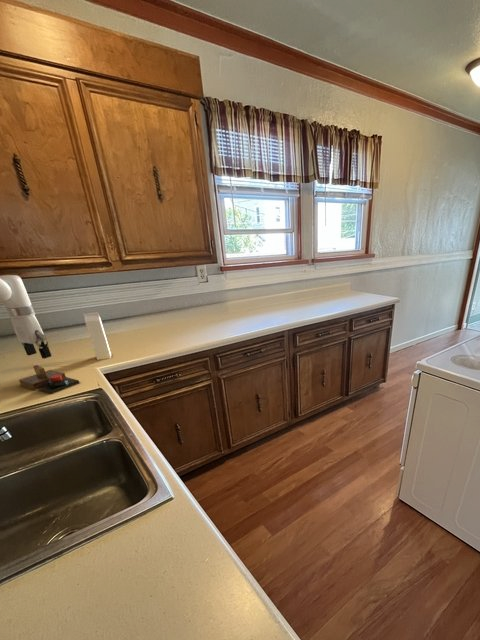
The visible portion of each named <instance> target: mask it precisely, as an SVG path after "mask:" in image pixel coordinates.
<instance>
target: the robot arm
mask: <svg viewBox="0 0 480 640" xmlns="http://www.w3.org/2000/svg"><path fill="white" fill-rule="evenodd" d="M0 303H3V305H4V307H5V309H6V312H7V314H8V317H9V318H10V321H11V322H10V323H11V326H12V328H13V331H14V333H15V336H16V338H17V340H18V342H21V345H22V346H23V348H24V351H25V353H26V355H27V356H33V355H36V354H37V353H38V352H37V350H36V347H35V345H36V346H37V347H38V351H39V354H40V356H41V358H42V360H45V359H48V358H51V357H52V352H51V350H50V347H49V342H48V338H47V336H46V335H45V333H44V331H43V329H42V326H41V325H40V323H39V321H38V319H37V316H36V311H35V309H34V307H33V304H32V302H31V299H30V297H29V294H28V291H27V289H26V287H25V285H24V282H23V279H22V277H20V276H19V275H15V274H5V275H0ZM34 344H35V345H34Z"/></svg>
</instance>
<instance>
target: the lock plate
mask: <svg viewBox="0 0 480 640" xmlns="http://www.w3.org/2000/svg"><path fill="white" fill-rule="evenodd" d="M45 372H46V375H47V378H41V377H39V376H37V375H36V374H33V375H30V376H26V377H24V378H21V379H18V382H19V384H20V386H21V387H23V388H27V389H30V390H33V391H37V390H38V391H39V389H38V387H40V386H43V385H46V384H48V383H47V381H48V380H49V379H51V378H50V377H51V376H54V375H61V376H65V377H67V376H66V374H65V372H61V371H57V370H53V369H49V370H45Z"/></svg>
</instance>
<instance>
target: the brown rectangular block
mask: <svg viewBox="0 0 480 640" xmlns="http://www.w3.org/2000/svg"><path fill="white" fill-rule="evenodd" d="M32 368H33V370H34V373H35V375H37V376H39V377H41V378H47V375H46V372H45V371H46V370H45V368H44V367H43V366H40V365H38V364H35V365H32Z"/></svg>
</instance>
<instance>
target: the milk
mask: <svg viewBox="0 0 480 640" xmlns="http://www.w3.org/2000/svg"><path fill="white" fill-rule="evenodd" d="M83 318H84V323H85V326H86V329H87V332H88V335H89V339H90V342H91V345H92V348H93V351H94V355H95V358H96V360H97V361H99V360H105V359H106V360H107V359H111V358H112V352H111V349H110V346H109V342H108V339H107V336H106V332H105V328H104V325H103V321H102V319H101V317H100V314H99V312H98V311H95V312H87V313H86V312H85V313H83Z"/></svg>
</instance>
